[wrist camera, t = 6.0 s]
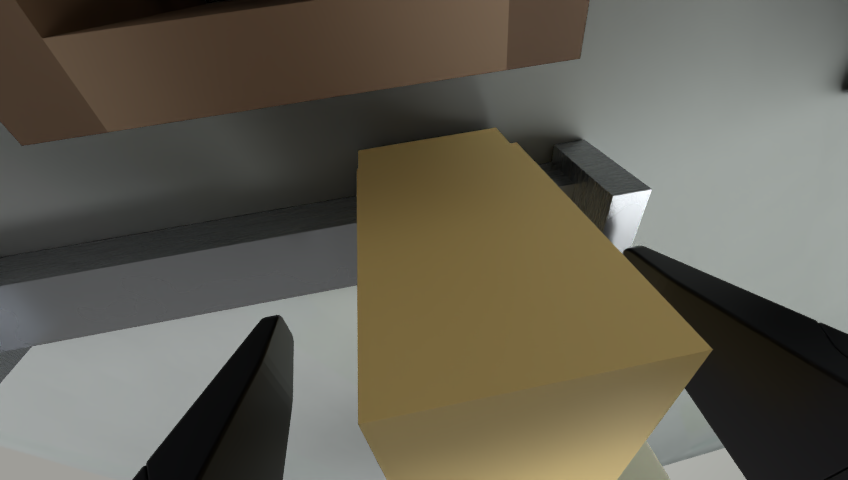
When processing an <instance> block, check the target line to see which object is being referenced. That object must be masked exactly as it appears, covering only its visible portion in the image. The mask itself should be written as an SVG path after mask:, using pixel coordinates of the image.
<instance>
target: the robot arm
mask: <svg viewBox="0 0 848 480" xmlns="http://www.w3.org/2000/svg"><path fill="white" fill-rule="evenodd" d="M622 254H623V255H624V256H625V257H626V258H627V259H628V260H629V261H630V263H631V264H632V265H633V266H634V267H635V268H636V269H637V270H638V271H639V272H640V273H641V274H642V275H643V276H644V277H645V278H646V279H647V280H648V282H649V283H650V284H651V285H652V286H653V287H654V288H655V289H656V290H657V291H658V292H659V293H660V294H661V295H662V296H663V297H664V298H665V299H666V301H667V302H668V303H669V304H670V305H671V306H672V307H673V308H674V309H675V310H676V311H677V312H678V313H679V314H680V315H681V316H682V317H683V318H684V319H685V321H686V322H687V323H688V324H689V325H690V326H691V327H692V328H693V329H694V330H695V331H696V332H697V333H698V334H699V335H700V336H701V337H702V338H703V340H704V341H705V342H706V343H707V344H708V345H709V346H710V347H711V348H712V349H713V350H712V351H711V353H710V354H709V355H708V357H707V358H706V359H705V361H704V362H703V364H702V365H701V366H700V368H699V369H698V370H697V372H696V373H695V374H694V376H693V377H692V379H691V380H690V381H689V383H688V384H687V385H686V387H685V389H686V391H687V392H688V394H689V395H690V397H691V398H692V400H693V401H694V403H695V404H696V405H697V407H698V408H699V410H700V411H701V413H702V414H703V416H704V417H705V419H706V420H707V422H708V423H709V425H710V426H711V428H712V429H713V431H714V432H715V434H716V435H717V437H718V438H719V439H720V441H721V442H722V444H723V445H724V447H725V448H726V450H727V451H728V453H729V454H730V456H731V457H732V459H733V460H734V462H735V463H736V465H737V466H738V468H739V469H740V470H741V472H742V473H743V475H744V476H745V478H746V479H747V480H848V334H846V333H844V332H842V331H839V330H837V329H835V328H833V327H830V326H828V325H826V324H823V323H818V322H817V321H816V320H814V319H811V318H809V317H807V316H805V315H802V314H800V313H798V312H795V311H793V310H791V309H788V308H786V307H784V306H781V305H779V304H777V303H774V302H772V301H770V300H767V299H765V298H763V297H760V296H758V295H756V294H753V293H751V292H749V291H747V290H744V289H742V288H740V287H737V286H735V285H733V284H730V283H728V282H726V281H723V280H721V279H719V278H716V277H714V276H712V275H709V274H707V273H705V272H702V271H700V270H698V269H695V268H693V267H691V266H688V265H686V264H684V263H682V262H679V261H677V260H675V259H672V258H670V257H668V256H665V255H663V254H661V253H658V252H656V251H654V250H651V249H649V248H647V247H644V246H635V247H630V248H626V249H625V250H624V251H623V253H622ZM293 355H294V341H293V336H292V333H291V332H290V330H289V328H288V326H287V325H286V323H285V321H284V320H283V318H282V317H281V316H280V315H275V316H270V317H265V318H263V319H262V320H260V322H259V323H258V324H257V325H256V327H255V328H254V329H253V330H252V332H251V333H250V334H249V335H248V337H247V338H246V339H245V340H244V342H243V343H242V344H241V345H240V346H239V348H238V349H237V350H236V351H235V353H234V354H233V355H232V356H231V358H230V359H229V360H228V361H227V363H226V364H225V365H224V366H223V368H222V369H221V370H220V371H219V373H218V374H217V375H216V376H215V378H214V379H213V380H212V381H211V383H210V384H209V385H208V386H207V388H206V389H205V390H204V391H203V393H202V394H201V395H200V396H199V398H198V399H197V400H196V401H195V402H194V404H193V405H192V406H191V407H190V409H189V410H188V411H187V412H186V414H185V415H184V416H183V417H182V419H181V420H180V421H179V422H178V424H177V425H176V426H175V427H174V429H173V430H172V431H171V432H170V434H169V435H168V436H167V437H166V439H165V440H164V441H163V442H162V444H161V445H160V446H159V447H158V449H157V450H156V451H155V452H154V454H153V455H152V456H151V457H150V459H149V460H148V461H147V463H146V465H147V466H143V467H142V468H141V469H140V471H139V472H138V473H137V474H136V476H135V477H134V478H133V479H132V480H283V473H284V465H285V458H286V450H287V442H288V435H289V427H290V419H291V411H292V402H293Z"/></svg>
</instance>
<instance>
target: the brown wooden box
mask: <svg viewBox="0 0 848 480" xmlns="http://www.w3.org/2000/svg"><path fill="white" fill-rule="evenodd" d="M588 7H589V0H231V1H224V2H216V3H209V4H206V2H205V0H0V122H1V123H2V124H3V125H4V126H5V127H6V128H7V130H8V131H9V132H10V133H11V134H12V135H13V136H14V137H15V139H16V140H17V141H18V142H19V143H20V144H21V145H22V146H24V145H30V144H37V143H43V142H50V141H56V140H62V139H69V138H75V137H82V136H88V135H94V134H101V133H107V132H113V131H120V130H126V129H133V128H139V127H145V126H152V125H158V124H165V123H171V122H177V121H184V120H190V119H197V118H203V117H209V116H216V115H222V114H229V113H235V112H241V111H248V110H254V109H261V108H267V107H273V106H280V105H286V104H293V103H299V102H305V101H312V100H318V99H325V98H331V97H337V96H344V95H350V94H357V93H363V92H369V91H376V90H382V89H388V88H395V87H401V86H408V85H414V84H420V83H427V82H433V81H440V80H446V79H452V78H459V77H465V76H472V75H478V74H484V73H491V72H497V71H504V70H510V69H516V68H523V67H529V66H536V65H542V64H548V63H555V62H561V61H568V60H574V59H580V56H581V50H582V43H583V37H584V31H585V25H586V19H587V13H588Z"/></svg>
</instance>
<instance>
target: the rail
mask: <svg viewBox="0 0 848 480" xmlns="http://www.w3.org/2000/svg"><path fill="white" fill-rule="evenodd" d="M538 165H539V167H540V168H541V169H542V170H543V171H544V172H545V173H546V174H547V175H548V176H549V177H550V178H551V179H552V180H553V181H554V182H555V183H556V184H557V186H558V187H559V188H560V189H561V190H562V191H563V192H564V193H565V194H566V195H567V196H568V197H569V198H570V199H571V200H572V201H573V202H574V203H575V204H576V206H577V207H578V208H579V209H580V210H581V211H582V212H583V213H584V214H585V215H586V216H587V217H588V218H589V219H590V220H591V221H592V222H593V223H594V225H595V226H596V227H597V228H598V229H599V230H600V231H601V232H602V233H603V234H604V235H605V236H606V237H607V238H608V239H609V240H610V241H611V242H612V244H613V245H614V246H615V247H616V248H617V249H618V250H619V251H620V252H621V253H623V251H624V250H625V249H626V248H630V247H631V246H632V243H633V241H634V238H635V235H636V232H637V229H638V227H639V224H640V221H641V218H642V216H643V213H644V210H645V207H646V204H647V202H648V199H649V196H650V193H651V190H652V189H651V188H650V187H648V186H647V185H645V184H644V183H643V182H641V181H640V180H639V179H637V178H636V177H635V176H633V175H632V174H630V173H629V172H628V171H626V170H625V169H624V168H622V167H621V166H619V165H618V164H617V163H615V162H614V161H613V160H611V159H610V158H609V157H607V156H606V155H604V154H603V153H602V152H600V151H599V150H598V149H596V148H595V147H594V146H592V145H591V144H589V143H588V142H587V141H585V140H580V141H574V142H568V143H562V144H556V145H554V149H553V156H552V162H550V163H544V164H538ZM355 285H357V196H354V197H348V198H342V199H336V200H331V201H325V202H319V203H313V204H308V205H302V206H296V207H290V208H284V209H279V210H273V211H267V212H261V213H256V214H250V215H244V216H238V217H233V218H227V219H221V220H215V221H209V222H204V223H198V224H192V225H186V226H181V227H175V228H169V229H163V230H158V231H152V232H146V233H140V234H134V235H129V236H123V237H117V238H111V239H106V240H100V241H94V242H88V243H83V244H77V245H71V246H65V247H59V248H54V249H48V250H42V251H36V252H31V253H25V254H19V255H13V256H8V257H2V258H0V383H1V382H2V380H3V379H4V378H5V377H6V376H7V375H8V374H9V372H10V371H11V370H12V369H13V368H14V367H15V365H16V364H17V363H18V362H19V361H20V360H21V358H22V357H23V356H24V355H25V354H26V353H27V352H28V350H29V349H30V348H31V347H32V346H36V345H41V344H46V343H52V342H57V341H62V340H68V339H73V338H78V337H84V336H89V335H94V334H100V333H105V332H110V331H116V330H121V329H126V328H132V327H137V326H142V325H148V324H153V323H158V322H163V321H169V320H174V319H179V318H185V317H190V316H195V315H201V314H206V313H211V312H217V311H222V310H227V309H233V308H238V307H243V306H249V305H254V304H259V303H264V302H270V301H275V300H280V299H286V298H291V297H296V296H302V295H307V294H312V293H318V292H323V291H328V290H334V289H339V288H344V287H350V286H355Z"/></svg>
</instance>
